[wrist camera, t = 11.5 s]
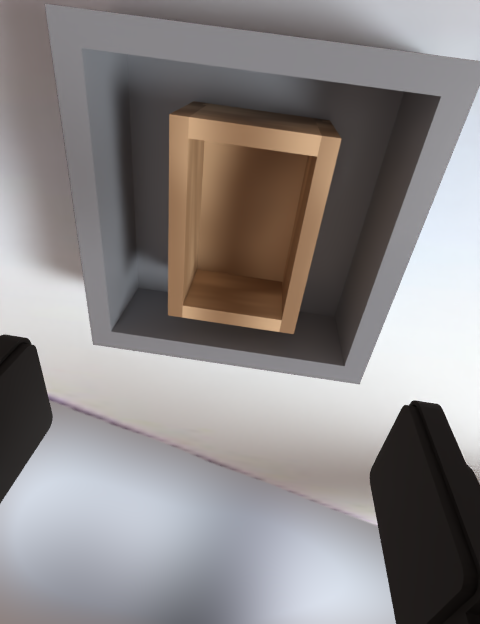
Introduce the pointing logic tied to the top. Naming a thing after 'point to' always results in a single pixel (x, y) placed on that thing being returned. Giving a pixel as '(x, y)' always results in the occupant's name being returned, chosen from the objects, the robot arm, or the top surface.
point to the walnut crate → (245, 212)
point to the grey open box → (264, 97)
